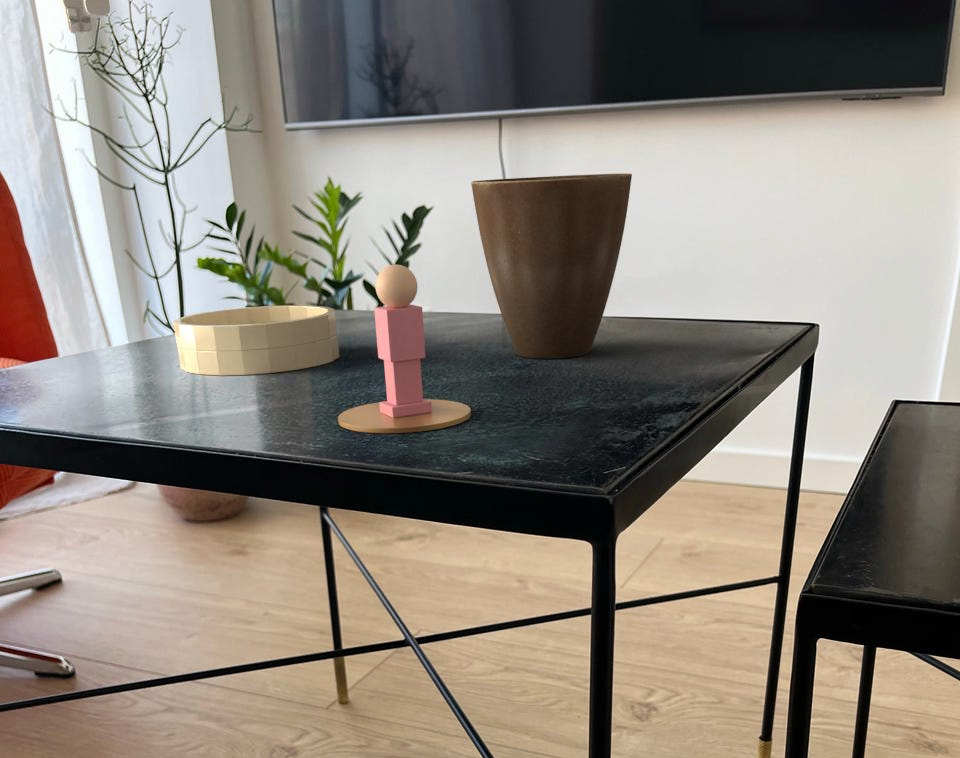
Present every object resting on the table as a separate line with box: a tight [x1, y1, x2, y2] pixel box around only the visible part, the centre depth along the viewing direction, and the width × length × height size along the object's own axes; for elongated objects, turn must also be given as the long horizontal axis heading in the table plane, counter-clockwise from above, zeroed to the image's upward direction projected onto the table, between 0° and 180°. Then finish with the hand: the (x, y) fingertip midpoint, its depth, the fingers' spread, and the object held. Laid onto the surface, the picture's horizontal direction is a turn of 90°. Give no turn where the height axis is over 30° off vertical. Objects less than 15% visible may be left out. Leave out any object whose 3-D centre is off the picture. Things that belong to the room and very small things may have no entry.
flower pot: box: [470, 173, 633, 360], centre depth 97 cm, size 15×15×16 cm
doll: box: [373, 264, 432, 418], centre depth 74 cm, size 3×3×10 cm
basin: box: [172, 304, 340, 376], centre depth 100 cm, size 15×15×5 cm
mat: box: [337, 398, 472, 434], centre depth 76 cm, size 10×10×1 cm
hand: (89, 25), depth 84 cm, fingers open, 8 cm apart
